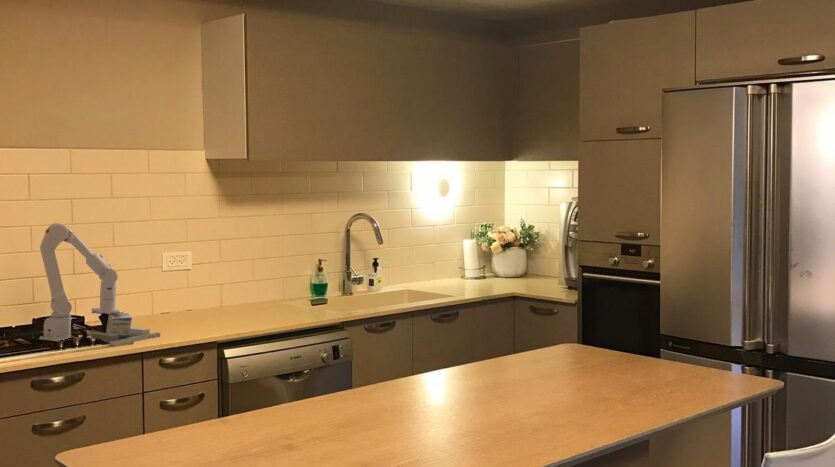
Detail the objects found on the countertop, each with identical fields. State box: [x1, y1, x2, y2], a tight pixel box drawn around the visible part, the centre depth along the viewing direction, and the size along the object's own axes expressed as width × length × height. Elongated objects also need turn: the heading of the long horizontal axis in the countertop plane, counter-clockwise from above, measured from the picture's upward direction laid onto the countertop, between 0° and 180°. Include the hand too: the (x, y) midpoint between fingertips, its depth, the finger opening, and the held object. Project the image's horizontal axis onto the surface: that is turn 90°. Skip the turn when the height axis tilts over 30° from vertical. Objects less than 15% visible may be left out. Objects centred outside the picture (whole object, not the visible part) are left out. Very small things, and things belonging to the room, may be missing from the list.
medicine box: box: [106, 312, 133, 339], centre depth 356 cm, size 8×4×9 cm, turn 127°
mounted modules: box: [90, 326, 151, 345], centre depth 355 cm, size 21×10×3 cm, turn 155°
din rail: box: [109, 332, 161, 347], centre depth 351 cm, size 26×2×2 cm, turn 155°
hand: (106, 333), depth 358 cm, fingers closed
